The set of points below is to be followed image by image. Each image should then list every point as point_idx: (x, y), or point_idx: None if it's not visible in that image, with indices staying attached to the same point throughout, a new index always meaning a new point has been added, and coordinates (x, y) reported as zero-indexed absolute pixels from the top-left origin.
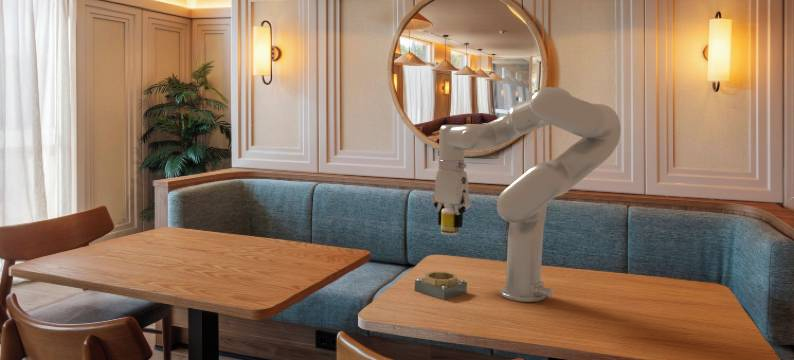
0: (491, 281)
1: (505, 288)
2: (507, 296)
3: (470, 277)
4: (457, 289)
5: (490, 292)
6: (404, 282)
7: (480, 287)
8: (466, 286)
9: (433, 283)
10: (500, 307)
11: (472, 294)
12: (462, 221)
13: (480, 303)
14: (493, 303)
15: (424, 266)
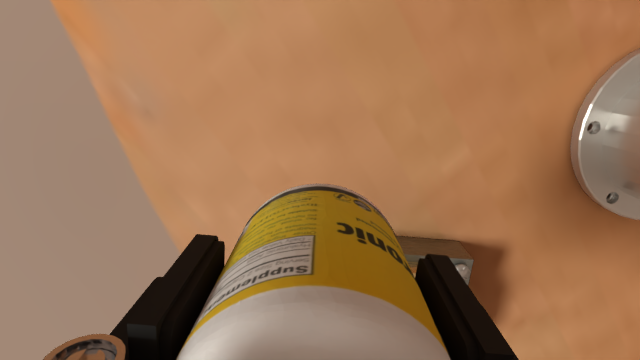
0: (473, 34)
1: (597, 147)
2: (627, 217)
3: (365, 45)
4: None
5: (533, 180)
6: None
7: (472, 150)
8: (466, 253)
9: None
10: (622, 297)
11: (486, 245)
12: (491, 319)
13: (550, 305)
14: (588, 278)
15: (87, 35)
